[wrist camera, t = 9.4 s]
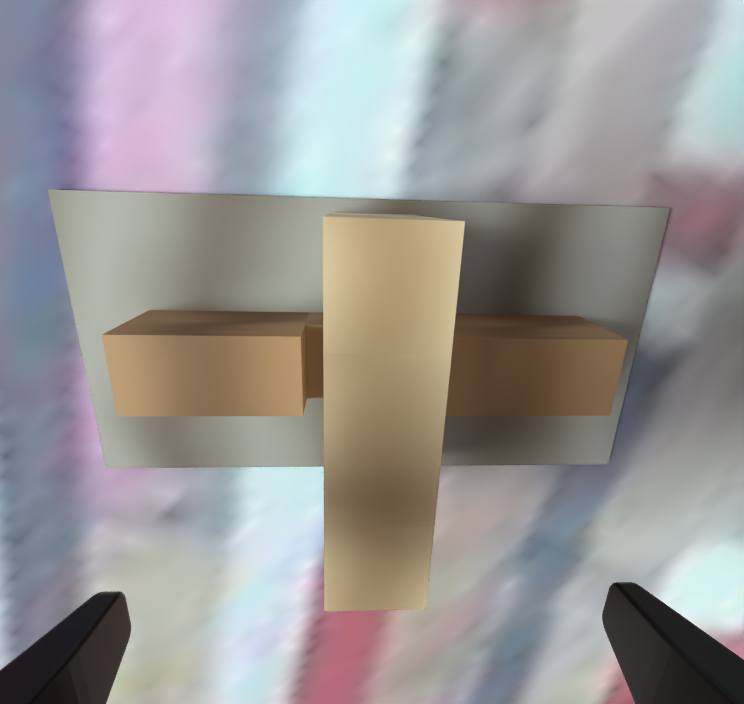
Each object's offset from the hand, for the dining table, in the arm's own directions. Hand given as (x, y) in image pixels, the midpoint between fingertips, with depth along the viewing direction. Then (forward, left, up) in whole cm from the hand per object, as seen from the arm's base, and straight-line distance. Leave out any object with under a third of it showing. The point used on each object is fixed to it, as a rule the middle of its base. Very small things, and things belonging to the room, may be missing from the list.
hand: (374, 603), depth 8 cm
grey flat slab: (0, -1, -12) cm, 12 cm away
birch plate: (0, -1, -11) cm, 11 cm away
